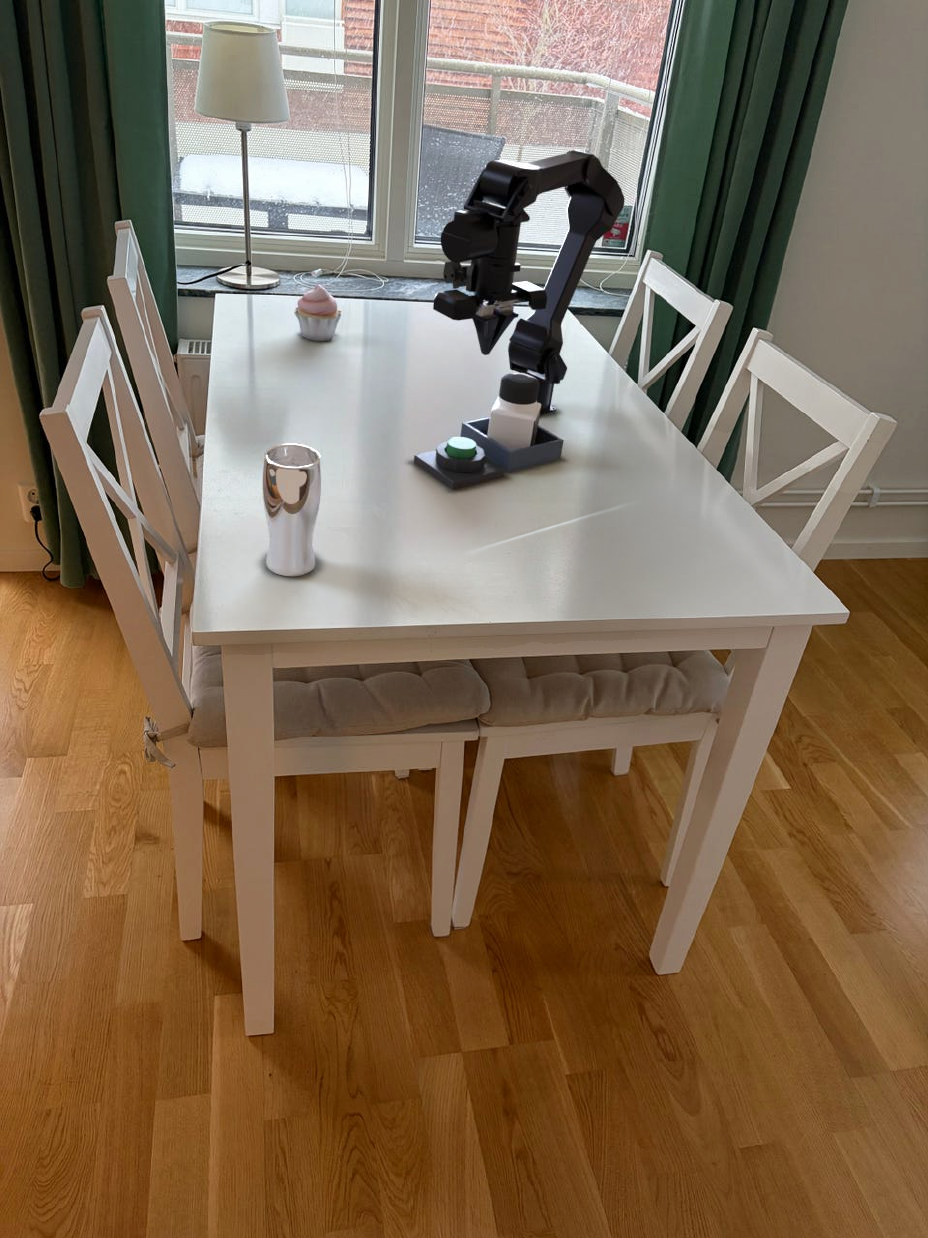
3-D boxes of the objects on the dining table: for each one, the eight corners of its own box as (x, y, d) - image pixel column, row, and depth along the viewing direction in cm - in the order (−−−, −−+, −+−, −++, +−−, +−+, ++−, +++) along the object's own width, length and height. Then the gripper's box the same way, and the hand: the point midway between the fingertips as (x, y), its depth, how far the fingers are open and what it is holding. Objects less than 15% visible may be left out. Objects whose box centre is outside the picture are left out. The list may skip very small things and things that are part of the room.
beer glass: (265, 548, 128) (264, 440, 119) (319, 551, 129) (323, 444, 120) (260, 577, 122) (259, 466, 114) (317, 580, 123) (321, 470, 115)
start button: (463, 445, 154) (464, 434, 153) (480, 456, 151) (482, 445, 150) (440, 450, 151) (441, 439, 150) (457, 461, 149) (459, 451, 148)
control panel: (464, 451, 159) (466, 432, 157) (504, 477, 152) (506, 458, 151) (413, 462, 153) (415, 443, 151) (452, 490, 147) (454, 470, 145)
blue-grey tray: (512, 430, 167) (515, 411, 166) (560, 459, 160) (563, 440, 158) (459, 441, 161) (462, 422, 159) (507, 473, 154) (510, 452, 152)
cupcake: (300, 324, 199) (301, 274, 193) (346, 332, 198) (348, 281, 193) (287, 339, 191) (287, 287, 185) (334, 347, 190) (336, 294, 185)
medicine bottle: (528, 461, 157) (540, 389, 150) (484, 452, 158) (494, 380, 151) (535, 443, 163) (546, 373, 156) (492, 435, 164) (502, 365, 157)
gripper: (510, 235, 160) (498, 330, 169) (416, 243, 150) (408, 344, 159) (556, 254, 153) (541, 353, 162) (461, 264, 143) (450, 368, 152)
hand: (485, 353), depth 159 cm, fingers closed
